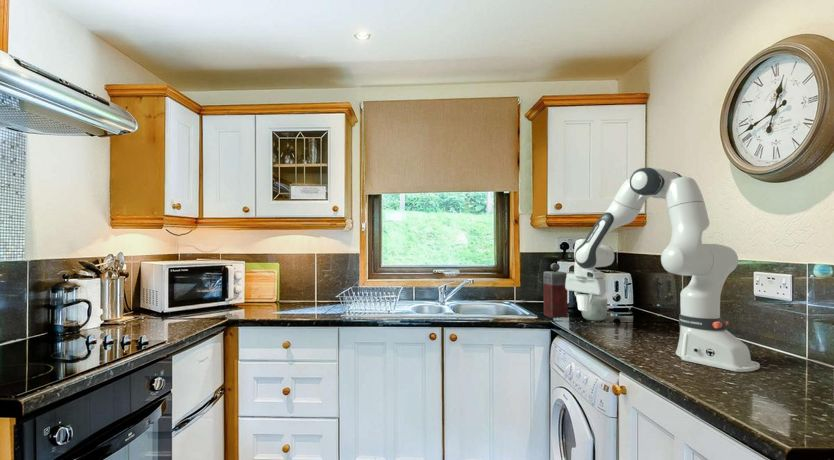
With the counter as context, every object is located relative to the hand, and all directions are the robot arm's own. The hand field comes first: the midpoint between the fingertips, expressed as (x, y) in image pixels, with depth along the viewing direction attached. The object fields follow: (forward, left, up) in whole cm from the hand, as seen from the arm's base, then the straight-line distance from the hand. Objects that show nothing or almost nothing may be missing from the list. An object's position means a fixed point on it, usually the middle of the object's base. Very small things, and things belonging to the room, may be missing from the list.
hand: (584, 302), depth 182 cm
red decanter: (+26, -7, -12) cm, 29 cm away
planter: (+10, -18, -12) cm, 24 cm away
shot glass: (0, 0, -4) cm, 4 cm away
